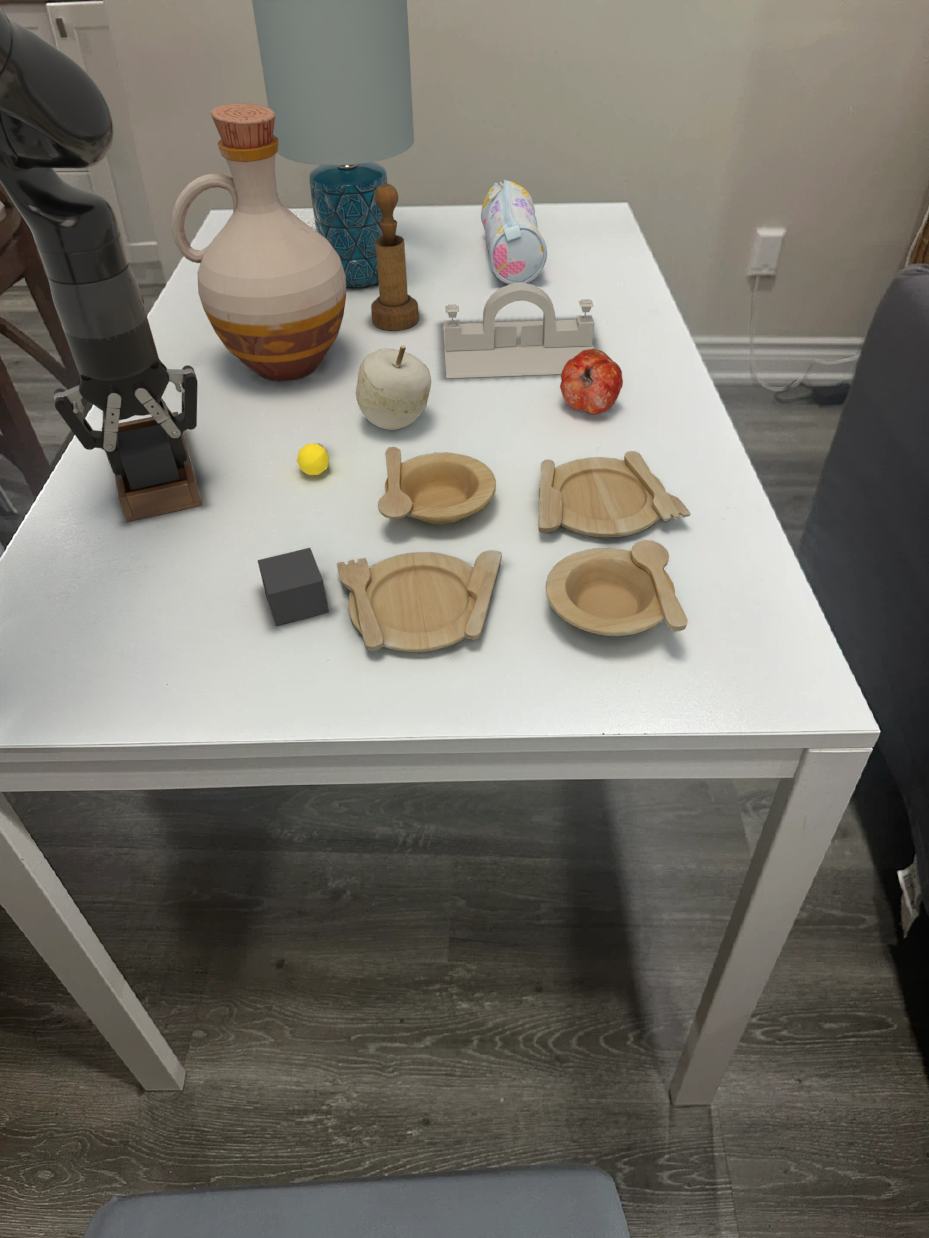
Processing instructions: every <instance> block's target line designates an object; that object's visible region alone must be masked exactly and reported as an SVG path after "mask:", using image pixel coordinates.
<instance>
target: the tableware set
mask: <svg viewBox="0 0 929 1238" xmlns="http://www.w3.org/2000/svg"><path fill="white" fill-rule="evenodd" d="M401 451H402V450H401V449H400V448H398V447H396V446H390V447H389V446H388V447H387V448H386V449H385V451H384V452H385V453H384V454H385V455H384V456H385V464H386V473H387V478H386V480H385V483H384V493H385V494H383V495H381V497H380V498H379V500H378V502H377V510H378V512H379V514H380V515H382V516H383V517H385V518H387V519H391V520H399V519H404V518H405V517H410V518H412V519H415V520H419V521H421V522H423V523H427V524H430V525H448V524H449V525H450V524H453V523H456V522H460V521H462V520H464V519H465V518H468V517H470V516H473V515H475V514H477V513H479V512H481V510H483V509H484V508H486V506H488V504H490V502H491V501H492V500H493V498H494V497H495V493H496V490H497V481H496V476H495V473H494V472H493V471H492V469H491V468H489V466H488V465H487V464H485V463H484V462H482V461H481V460H479V459H477V458H475V457H472V456H469V455H466V454H461V453H456V452H447V451H446V452H431V453H425V454H421V455H418V456H415V457H412V458H409V459H407V460H405V461H403V462H402V452H401ZM623 456H624V457H623V459H619V458H614V457H604V456H603V457H601V456H591V457H585V458H584V457H583V458H578V459H574V460H570V461H567V462H565V463H563V464H561V465H558V466H556V463H555V462H554V460H552V459H544V460H542V461H541V463H540V479H539V490H538V500H539V508H538V509H539V510H538V532H540V533H551V532H555V531H556V530H558V529H559V528H560V526H561V528H565V529H566V530H570V531H571V532H574V533H577V534H581V535H583V536H588V537H595V538H621V537H627V536H631V535H635V534H638V533H640V532H643V531H645V530H646V529H648V528H650V527H652V526H653V525H655V524H656V523H657V522H659V520H660V519H662V521H664V522H665V521H670V520H671V519H672V518H673V519H674V520H676V519H677V520H678V519H679V518H680V517H682V518H687V517H690V516H691V514H692V513H691V511H690V510H689V509H688V508H687V506H686V505H685V504H684V502H683V501H682V500H681V499H680V498H679V497H678V496H676V495H673V494H670V493H668V492H667V490H666V488H665V486H664V484H663V482H661V480H660V479H659V478H658V477H657V476H656V475H655V474H653V472H652V471H651V469H650V467H649V465H648V464H647V461H645V459H644V457H643V455H641V453H640V452H639V451H636V450H629V451H626V452H625V453H624V455H623ZM502 559H503V552H502V551H498V550H492V549H491V550H485V551H482V552H481V553H480V554H479V555H478V556H477V557H476V559H475V560H474V564H473V566H472V565H471V564H469V563H468V562H466V561H464V560H462V559H460V558H458V557H455V556H452V555H449V554H445V553H439V552H433V551H431V552H430V551H427V552H426V551H417V552H407V553H401V554H397V555H394V556H390V557H387V558H384V559H383V560H380V561H378V562H376V563H375V564H373V565H372V566H370V567H369V563H368V561H367V558H366V557H361V558H357V562H355V559H350V560H348V561H347V564H346V563H345V561H338V562H337V563H336V568H337V573H338V576H339V579H340V583H341V585H342V586H343V588H346V589H348V590H349V591H350V593H349V595H348V600H347V608H348V609H347V610H348V614H349V617H350V619H351V621H352V623H353V625H354V627H355V628H356V630H358V632H359V633H360V634H361V635H362V639H363V643H364V646H365V649H367V650H369V651H378V650H380V649H382V648H386V649H390V650H394V651H397V652H398V651H399V652H403V653H426V652H433V651H437V650H441V649H444V648H449V647H450V646H453V645H455V644H457V643H458V642H461V641H463V640H464V639H468V640H471V641H472V640H475V641H476V640H478V639H479V638H480V637H481V635H482V632H483V629H484V626H485V623H486V622H485V621H486V618H487V615H488V612H489V610H490V609H489V608H490V604H491V598H492V595H493V591H494V587H495V584H496V580H497V577H498V572H499V569H500V567H501V562H502ZM669 559H670V553H669V551H668V550H667V548H666V547H665V546H664V545H663V544H661V543H659V542H658V541H654V540H652V539H651V540H650V539H643V540H639V541H637V542H635V543H634V544H633V545H632V547H631V549H630V550H629V549H624V548H618V547H617V548H616V547H596V548H595V547H594V548H588V549H584V550H580V551H577V552H573V553H571V554H570V555H568V556H565V557H563V558H562V559H560V560H559V561H558V562H557V563H556V564H555V565H553V567H552V568H551V570H550V571H549V573H548V574H547V577H546V581H545V593H546V598H547V601H548V604H549V605H550V607H551V608H552V609H553V611H554V612H555V614H556V615H558V616H559V617H560V618H561V619H562V620H563V621H564V622H566V623H567V624H570V625H571V626H573V627H575V628H577V629H580V630H582V631H585V632H588V633H591V634H595V635H599V636H604V637H623V636H631V635H636V634H639V633H643V632H646V631H649V630H650V629H653V628H654V627H656V626H658V625H659V624H660V623H662V622H663V621H664V623H665V624H666V627H667V628H668V629H669V630H670V631H673V632H681V631H684V630H686V628H687V625H688V617H687V615H686V613H685V611H684V608H683V607H682V605H681V603H680V601H679V599H678V597H677V595H676V589H675V585H674V581H672V578H671V577H670V575H669V574H668V572H666V570H665V568H666V567H667V566H668V562H669V561H670V560H669Z"/></svg>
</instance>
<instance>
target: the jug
mask: <svg viewBox="0 0 929 1238" xmlns="http://www.w3.org/2000/svg"><path fill="white" fill-rule="evenodd" d="M210 116H211V118H212V120H213V124H214V125H215V127H216V131H217V132H218V135H219V138H220V140H218V141H217V147H218V150H219V154H220V155H221V156H222V158H224V159H225V162H226V164H227V167H228V169H229V172H230V174H231V176H229V175H226V174H224V173H207V174H205V175H202V176H198V177H197V178H195V179H193V180H192V181H191V182H189V183H188V184H187V185H186V186H185V187H184V188H183V190H182V191H181V192H180V193H179V195H178V197H177V199H176V201H175V203H174V206H173V208H172V214H171V233H172V236H173V241H174V244H175V245H176V247H177V248H178V250H179V252H180V254H181V256H182V257H184V258H185V259H186V260H188V261H190V262H192V263H196V264H199V266H198V270H197V291H198V293H197V294H198V296H199V300H200V302H201V306H202V309H203V311H204V313H205V315H206V317H207V319H208V321H209V324H210V325H211V327H212V329H213V331H214V333H215V335H216V336H217V337H218V339H219V340H220V341H221V343H222V344H223V346H224V347H225V349H227V351H228V352H229V353H230V354H232V355H233V356H234V357H235V358H236V359H237V360H238V361H240V362H241V363H242V364H243V365H245V366H246V367H248V368H249V370H251V371H252V372H254V373H255V374H257V375H258V376H259V377H261V378H263V379H264V380H267V381H271V382H272V381H273V382H292V381H297V380H301V379H304V378H305V377H308V376H310V375H311V374H313V373H314V372H315V371H316V370H317V368H318V367H319V366H320V364H321V363H322V361H323V360H324V359H325V357H326V356H327V355H328V353H329V352H330V350H331V349H332V347H333V345H334V343H335V341H336V340H337V338H338V336H339V333H340V329H341V325H342V324H343V320H344V314H345V308H346V300H347V287H346V276H345V273H344V269H343V266H342V263H341V260H340V257H339V255H338V254H337V253H336V251H335V250H334V248H333V247H332V246H331V244H330V243H329V242H328V241H327V239H325V238H324V237H323V236H322V235H321V234H319V233H318V232H317V231H316V229H314V228H313V227H312V226H310V225H309V224H307V223H306V222H305V221H303V220H302V219H300V218H299V217H298V216H297V215H296V214H295V213H294V212H293V211H291V210H290V209H289V208H288V207H287V206H286V205H285V204H283V203H282V201H281V199H280V197H279V195H278V189H277V179H276V155H277V154H278V153H277V152H278V138H277V137H276V136H274V135H273V130H274V121H275V113H274V111H273V110H271V109H270V108H268V106H263V105H261V104H252V103H229V104H223V105H219V106H216V107H214V108H213V109H211V111H210ZM214 188H215V189H216V188H220V189H224V190H226V191H228V193H229V194H230V196H231V199H232V205H233V209H232V214H230V217H229V219H228V220H227V221H226V223H225V224H224V225H223V227H222V229H221V230H220V231H219V232H218V233H217V234H216V236H215V237H214V238H213V240H212V241H211V242H210V243H209V244H208V245H207V246H205V248H202V249H199V250H198V249H194V248H193V247H192V245H191V244H190V242H189V241H188V238H187V235H186V232H185V222H186V221H185V219H186V217H187V216H186V215H187V213H188V211H189V208H190V207H191V205H192V203H193V202H194V201H195V200H196V198H197V197H198V196H200V195H201V194H202V193H203V192H204V191H207V190H209V189H214Z"/></svg>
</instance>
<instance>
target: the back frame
mask: <svg viewBox="0 0 929 1238" xmlns="http://www.w3.org/2000/svg"><path fill="white" fill-rule="evenodd" d="M172 413H173V415H174V416H177V415H178V414H179V412H178V411H174V412H172ZM155 425H160V424H158V423H157V422H156V420H155V419H154V418H153V417H152V416H148V417H143V418H138V419H133V420H127V421H123V422H119V426H118V433H119V432H124V431H130V430H135V429H140V428H145V427H150V426H155ZM182 440H183V444H184V447H185V451H186V455H187V460H186V461H185V462H182V465H183V467H182V468H178V473H179V477H180V480H176V481H171V482H166V483H162V484H157V485H152V486H148V487H143V488H138V489H134V490H132V489H131V487H130V484H129V481H128V479H124V480H123V479H122V476H121V475H118V476H116V475H115V474H114V479H115V486H116V492H117V493H116V494H117V499H118V503H119V506H120V508H121V510H122V514H123V516H124V518H125V519H124V520H125V521H126V523H129V522H132V521H138V520H142V519H146V518H150V517H155V516H160V515H164V514H165V515H166V514H169V513H173V512H179V511H182V510H187V509H192V508H195V507H200V506H203V501H202V497H201V494H200V490H199V486H198V482H197V478H196V475H195V471H194V467H193V463H192V459H191V455H190V451H189V446H188V443H187V440H186V435H185V431H184V432H183V433H182Z"/></svg>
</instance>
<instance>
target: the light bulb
mask: <svg viewBox="0 0 929 1238" xmlns="http://www.w3.org/2000/svg"><path fill="white" fill-rule="evenodd" d="M329 462H330V455H329V454H328V451H327V449H326V448H325V447H324V445H322V444H321V443H319V442H318V443H317V442H315V443H306V444H305V445H303V447H301V448H300V449H299V450H298V452H297V458H296V463H297V464H298V466H299V469H300V470H301V472H303V473H305V474H306V475H308V476H320V475H321V474H322V473H323V472H325V471H326V470H327V469H328V466H329Z"/></svg>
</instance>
